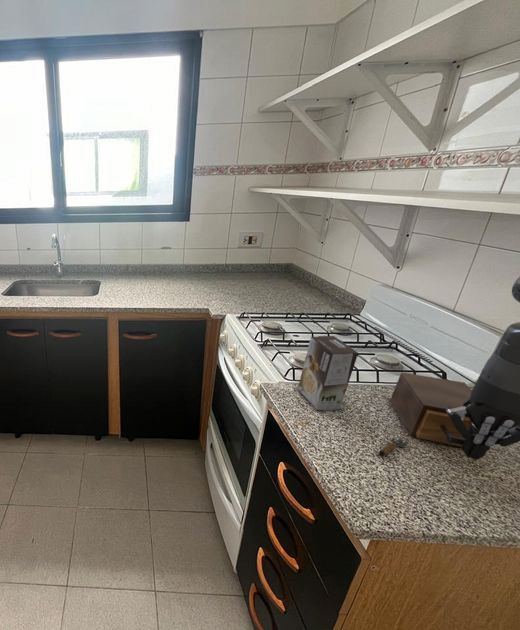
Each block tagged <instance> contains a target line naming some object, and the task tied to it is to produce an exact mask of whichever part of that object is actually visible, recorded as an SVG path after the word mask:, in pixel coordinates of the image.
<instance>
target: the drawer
mask: <svg viewBox="0 0 520 630" xmlns="http://www.w3.org/2000/svg"><path fill="white" fill-rule="evenodd" d="M469 420H470V419H469V417H468V416H466V417H465V418H464V420H463V421H462V422H463V423H464V425H465V427H466V428H467V429H468V428H469ZM416 436H417V437H418V438H419V439H422V440H427V441H432V442H437V443H440V444H441V443H442V444H445V445H446V444H447V445H450V446H456V447H460V448H461V446H462V445H463V443H464V441H465V438H463V437H462V435H461V434H460V433H459V432H458V430H457V429H456V427H455V426H454V424H453V423H452V421H451V419H450V418H449V416H448V414H447V413H442V412H437V411H432V410H431V409H427V410H426V412H425V414H424V416H423V419H422V421H421V423H420V425H419V427H418V429H417V432H416ZM417 437H416V438H417ZM490 450H491V446H490V447H489V448H488V450H487V452H488V451H490Z"/></svg>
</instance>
